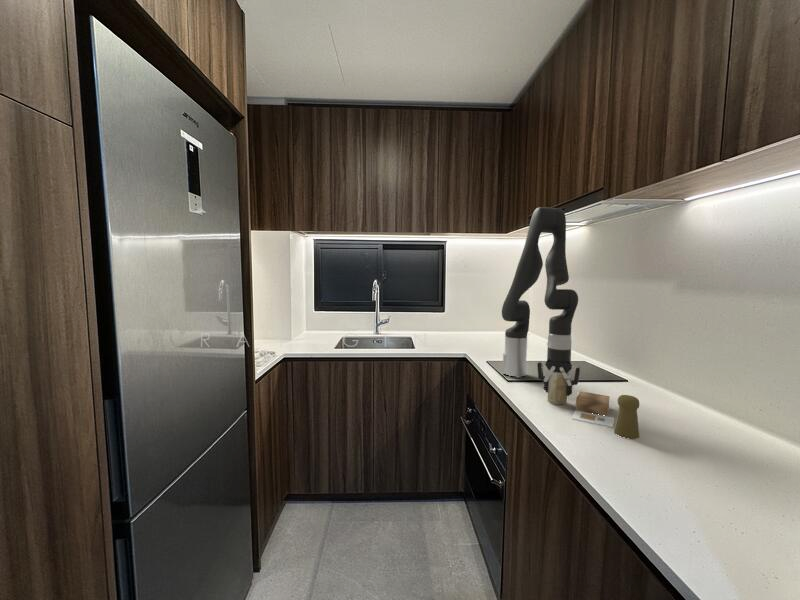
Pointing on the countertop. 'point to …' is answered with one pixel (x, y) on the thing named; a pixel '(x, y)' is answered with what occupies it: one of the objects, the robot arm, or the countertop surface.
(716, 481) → the countertop surface
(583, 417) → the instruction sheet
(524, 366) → the robot arm
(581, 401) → the base brick
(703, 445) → the countertop surface
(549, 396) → the box
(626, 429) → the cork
